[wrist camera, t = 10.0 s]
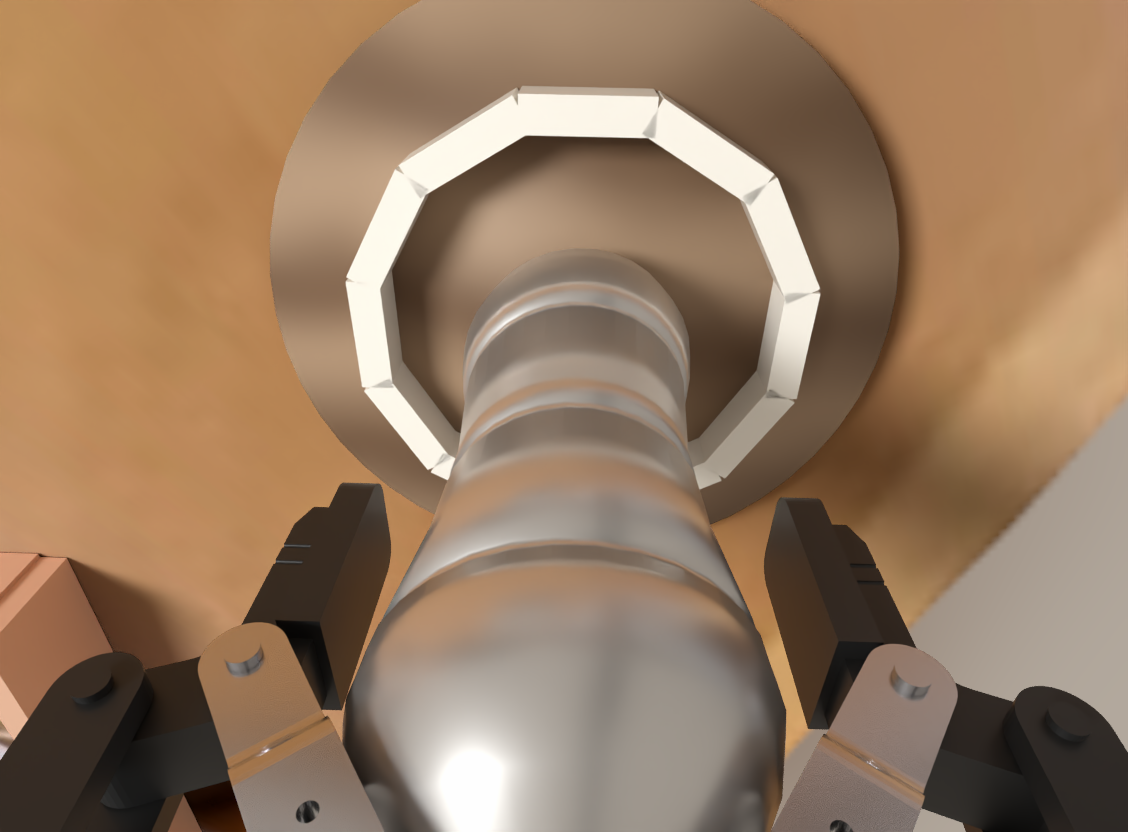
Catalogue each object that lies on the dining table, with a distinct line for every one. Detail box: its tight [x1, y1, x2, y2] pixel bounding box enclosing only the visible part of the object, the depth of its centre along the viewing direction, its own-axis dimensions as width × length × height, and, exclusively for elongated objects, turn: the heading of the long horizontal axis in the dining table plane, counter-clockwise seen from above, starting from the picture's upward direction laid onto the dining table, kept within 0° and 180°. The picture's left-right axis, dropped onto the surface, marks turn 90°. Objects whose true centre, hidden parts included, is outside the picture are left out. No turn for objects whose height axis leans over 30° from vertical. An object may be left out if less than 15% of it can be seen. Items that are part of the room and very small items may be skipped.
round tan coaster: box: [270, 0, 899, 524], centre depth 23 cm, size 20×20×1 cm
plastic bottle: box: [342, 248, 786, 832], centre depth 14 cm, size 6×7×20 cm
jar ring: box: [346, 86, 820, 489], centre depth 22 cm, size 14×14×2 cm
